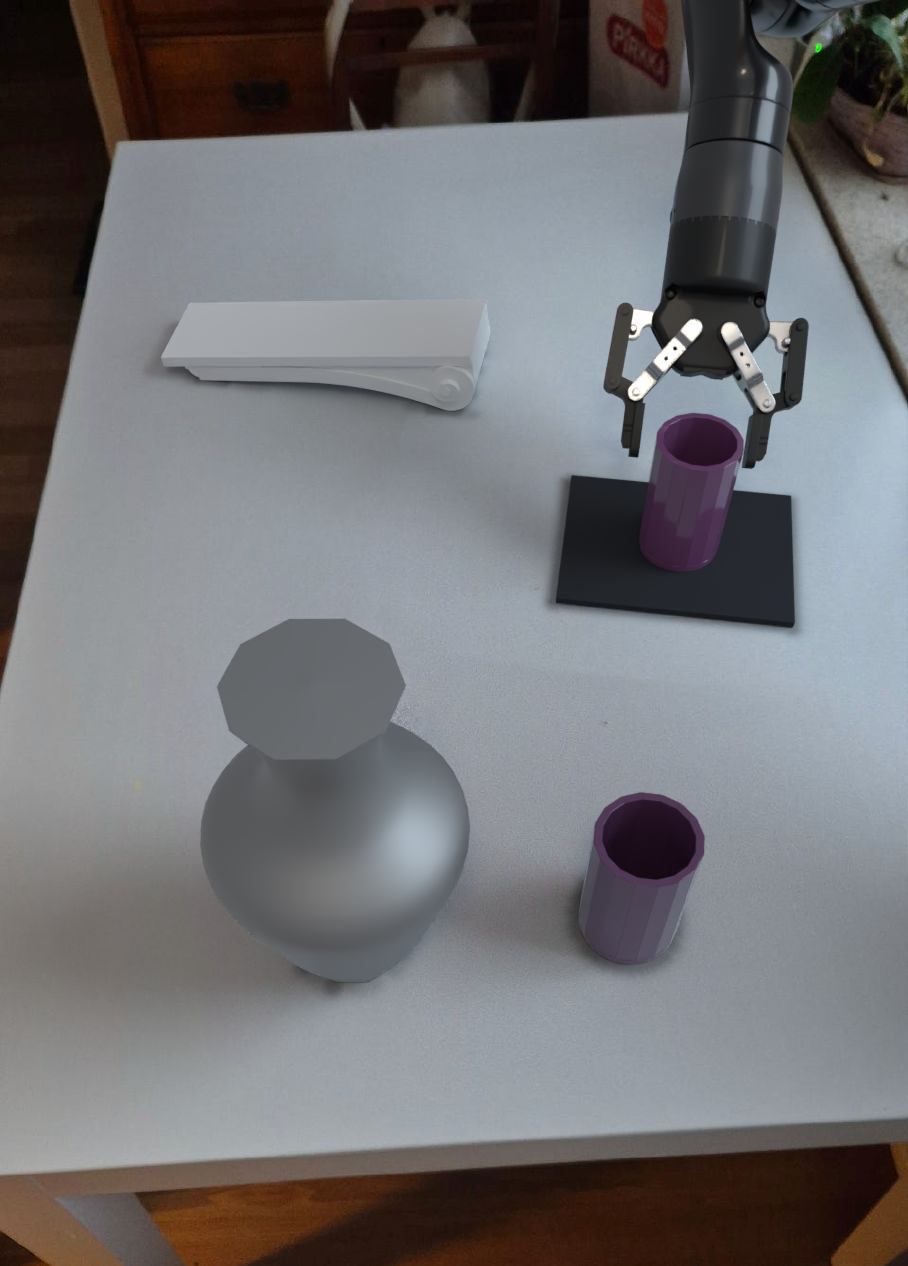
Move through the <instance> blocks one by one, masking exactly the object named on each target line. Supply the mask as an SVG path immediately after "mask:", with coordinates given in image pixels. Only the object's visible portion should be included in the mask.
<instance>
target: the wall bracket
mask: <svg viewBox="0 0 908 1266" xmlns="http://www.w3.org/2000/svg"><path fill="white" fill-rule="evenodd" d="M488 309H489V308H488V299H487V298H486V297H485V298H484V297H483V298H426V299H425V298H423V299H422V298H421V299H416V298H415V299H413V298H412V299H359V300H355V299H353V300H351V299H350V300H348V299H347V300H346V299H345V300H285V301H223V302H222V301H218V302H216V301H215V302H213V301H212V302H189V303H188V305H187V307H186V308H185V310H184V312H183V314H182V316H181V318H180V320H179V322H178V324H177V326H176V327H175V329H174V331H173V333H172V334H171V336H170V339H169V341H168V342H167V344H166V347H165V349H164V350H163V353H162V354H161V356H160V359H161V360H160V361H161V363H162V365H163V367H184V368H185V369H186V370H188V371H189V372H190V373H191V374H192V375H193V376H195V377H197V378H198V379H199V381H218V382H219V381H222V382H223V381H224V382H225V381H228V382H270V383H271V382H274V383H275V382H276V383H310V384H311V383H314V384H329V385H338V386H346V387H352V388H358V389H365V390H371V391H375V392H376V391H377V392H380V393H386V394H390V395H394V396H398V397H402V398H406V399H409V400H413V401H417V402H420V403H422V404H425V405H429V406H433V407H435V408H438V409H440V410H444V411H448V412H454V411H455V412H456V411H459V410H462V409H464V408H466V407H467V406H468V405H470V403H471V402H472V401H473V398H474V395H475V391H476V388H477V384H478V380H479V377H480V373H481V370H482V366H483V362H484V359H485V356H486V352H487V349H488V345H489V341H490V337H491V324H490V321H489V314H488Z"/></svg>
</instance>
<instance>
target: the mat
mask: <svg viewBox="0 0 908 1266" xmlns="http://www.w3.org/2000/svg"><path fill="white" fill-rule="evenodd" d="M647 485H648V481H639V480H628V479H617V478H607V477H598V476H586V475H575V474H572V475H571V476H570V483H569V491H568V500H567V507H566V508H567V509H566V514H565V515H566V516H565V523H564V531H563V532H564V533H563V539H562V547H561V555H560V564H559V570H558V571H559V573H558V580H557V588H556V597H555V603H556V604H560V605H569V606H571V605H572V606H579V607H589V608H600V609H610V610H619V611H629V612H640V613H648V614H649V613H650V614H657V615H659V614H660V615H668V616H678V617H688V618H696V619H705V620H706V619H707V620H716V621H727V622H735V623H744V624H755V625H763V626H764V625H765V626H775V627H784V628H794V627H795V623H796V612H795V610H796V609H795V578H794V575H795V574H794V573H795V572H794V543H793V540H794V539H793V538H794V537H793V509H792V508H793V507H792V506H793V505H792V495H790V494H780V493H779V494H778V493H770V492H769V493H768V492H757V491H748V490H747V491H746V490H736V489H734V490H733V493H732V497H731V501H730V505H729V509H728V512H727V516H726V520H725V524H724V528H723V532H722V535H721V539H720V543H719V547H718V549H717V552H716V555H715V556H714V558H713V559H712V561H711V562H710V563H709V564H707V565H706V566H704V567H702V568H700V569H697V570H694V571H689V572H674V571H669V570H665V569H662V568H660V567H658V566H656V565H654V564H652V563H651V562H650V561H648V560H647V559H646V558H645V556H644V555H643V554H642V552H641V550H640V548H639V544H638V538H639V531H640V524H641V519H642V513H643V508H644V502H645V496H646V491H647Z"/></svg>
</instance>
